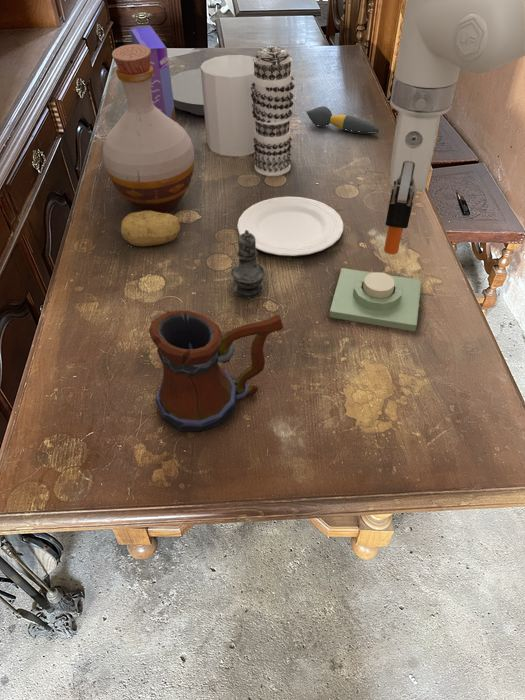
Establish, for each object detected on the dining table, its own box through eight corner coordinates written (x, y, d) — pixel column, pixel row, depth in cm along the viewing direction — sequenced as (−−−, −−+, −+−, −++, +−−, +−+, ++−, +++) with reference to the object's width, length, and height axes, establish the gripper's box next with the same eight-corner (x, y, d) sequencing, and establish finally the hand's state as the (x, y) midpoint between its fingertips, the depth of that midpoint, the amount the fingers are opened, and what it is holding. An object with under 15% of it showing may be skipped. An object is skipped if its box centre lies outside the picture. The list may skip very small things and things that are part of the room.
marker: (399, 247, 85) (412, 183, 77) (397, 255, 84) (411, 191, 76) (384, 245, 86) (396, 181, 78) (382, 253, 84) (394, 189, 76)
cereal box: (180, 156, 131) (166, 46, 113) (161, 159, 130) (143, 49, 112) (165, 127, 142) (150, 24, 125) (147, 130, 141) (129, 26, 124)
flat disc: (273, 115, 146) (273, 98, 143) (170, 127, 142) (168, 109, 139) (251, 78, 165) (251, 63, 162) (160, 88, 161) (157, 72, 158)
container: (275, 137, 137) (275, 60, 124) (246, 161, 128) (243, 81, 115) (227, 126, 142) (222, 51, 129) (196, 148, 133) (187, 70, 120)
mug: (274, 361, 83) (274, 285, 72) (289, 421, 75) (292, 345, 64) (156, 377, 81) (138, 300, 70) (158, 440, 73) (138, 365, 62)
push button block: (420, 286, 95) (423, 272, 93) (415, 331, 87) (418, 318, 85) (340, 274, 98) (342, 260, 95) (328, 317, 90) (330, 303, 87)
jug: (121, 181, 122) (88, 33, 101) (200, 177, 123) (184, 29, 102) (110, 230, 109) (70, 70, 87) (199, 225, 109) (181, 65, 88)
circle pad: (394, 282, 92) (396, 274, 90) (391, 301, 88) (393, 293, 87) (364, 278, 93) (366, 270, 91) (360, 296, 89) (362, 288, 88)
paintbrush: (380, 129, 139) (383, 110, 135) (377, 138, 136) (379, 118, 132) (306, 120, 144) (307, 101, 140) (301, 128, 141) (302, 108, 137)
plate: (334, 269, 98) (335, 261, 97) (225, 255, 102) (224, 247, 101) (349, 210, 113) (349, 201, 111) (252, 199, 116) (251, 191, 115)
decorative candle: (298, 162, 127) (302, 45, 109) (281, 180, 122) (283, 60, 104) (264, 154, 130) (262, 40, 112) (246, 171, 125) (241, 53, 107)
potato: (126, 234, 108) (120, 206, 103) (182, 231, 108) (178, 203, 104) (122, 253, 103) (116, 225, 98) (181, 250, 103) (177, 222, 99)
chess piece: (229, 297, 93) (225, 239, 85) (235, 276, 97) (231, 218, 89) (263, 300, 93) (262, 241, 84) (267, 279, 97) (267, 221, 88)
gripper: (451, 122, 61) (419, 255, 75) (455, 72, 72) (426, 196, 85) (385, 116, 63) (364, 247, 76) (398, 67, 73) (378, 190, 87)
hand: (397, 219), depth 81 cm, fingers closed on marker, 2 cm apart
